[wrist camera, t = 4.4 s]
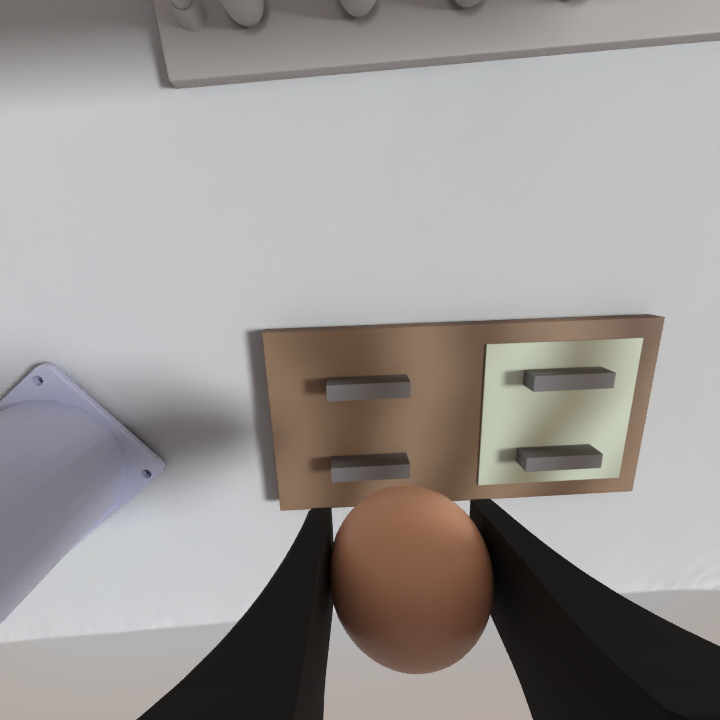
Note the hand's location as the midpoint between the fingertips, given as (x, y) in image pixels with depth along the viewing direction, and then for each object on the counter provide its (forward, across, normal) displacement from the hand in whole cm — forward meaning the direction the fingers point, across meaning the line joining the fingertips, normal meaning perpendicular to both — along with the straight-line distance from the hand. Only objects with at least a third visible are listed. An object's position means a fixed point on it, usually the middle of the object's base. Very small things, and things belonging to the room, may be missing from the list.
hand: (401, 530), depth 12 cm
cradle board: (+9, -4, 0) cm, 10 cm away
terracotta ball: (-2, 0, 0) cm, 2 cm away
